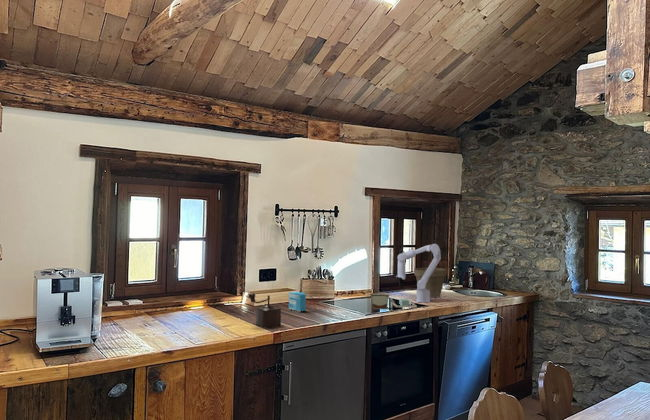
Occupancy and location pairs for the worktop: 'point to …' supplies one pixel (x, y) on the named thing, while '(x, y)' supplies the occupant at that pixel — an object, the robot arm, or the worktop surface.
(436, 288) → the plant pot
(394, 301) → the chute
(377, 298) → the food container
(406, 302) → the painted block
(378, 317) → the worktop surface
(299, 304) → the light blue box
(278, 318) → the manual coffee grinder
